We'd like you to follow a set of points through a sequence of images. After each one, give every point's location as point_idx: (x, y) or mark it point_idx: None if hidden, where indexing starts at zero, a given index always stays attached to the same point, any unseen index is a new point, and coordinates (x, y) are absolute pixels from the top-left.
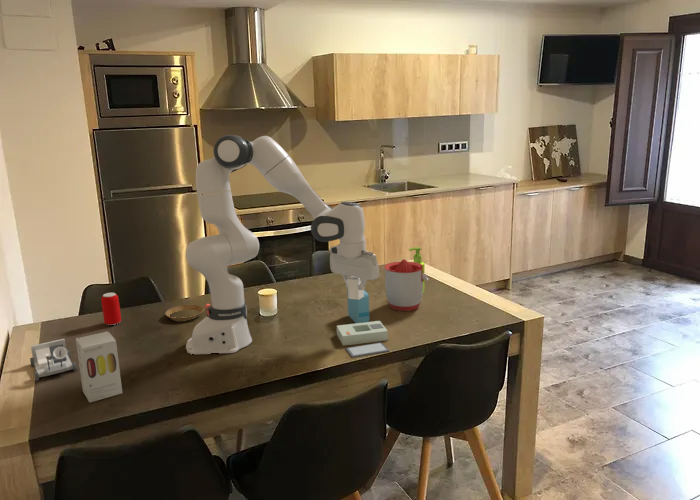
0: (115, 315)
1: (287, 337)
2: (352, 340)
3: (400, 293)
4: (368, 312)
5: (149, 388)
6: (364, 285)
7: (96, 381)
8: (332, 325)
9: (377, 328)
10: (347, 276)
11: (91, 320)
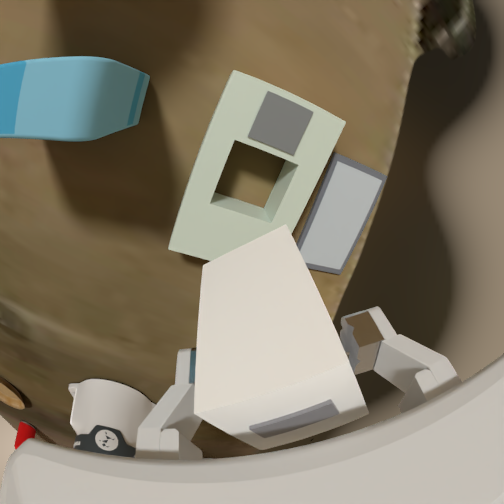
0: (31, 435)
1: (125, 337)
2: None
3: None
4: (140, 75)
5: (215, 451)
6: (391, 329)
7: None
8: (88, 205)
9: (301, 135)
10: (191, 445)
11: None
